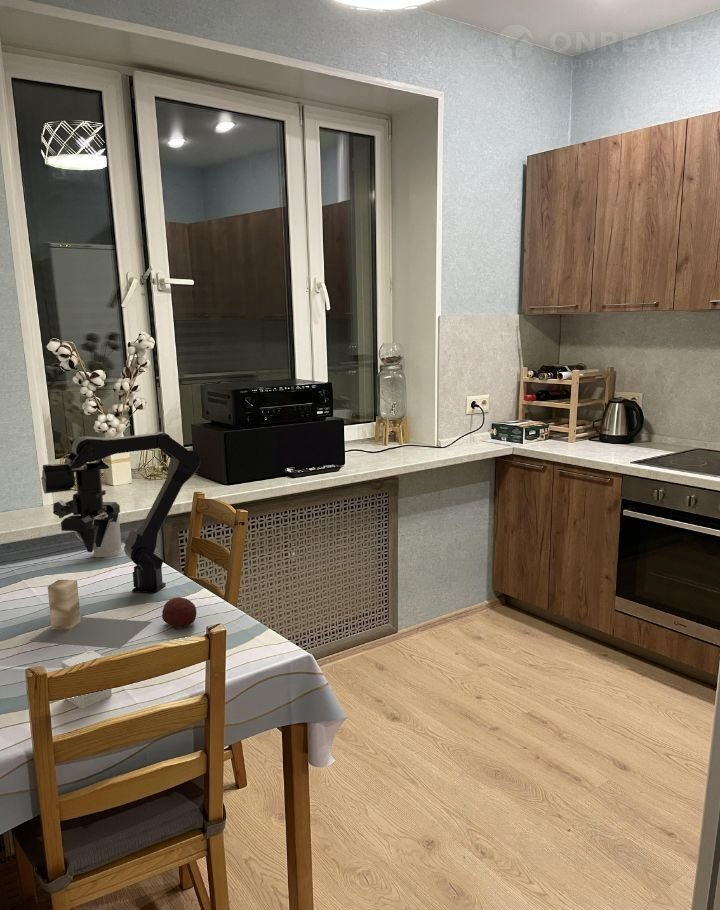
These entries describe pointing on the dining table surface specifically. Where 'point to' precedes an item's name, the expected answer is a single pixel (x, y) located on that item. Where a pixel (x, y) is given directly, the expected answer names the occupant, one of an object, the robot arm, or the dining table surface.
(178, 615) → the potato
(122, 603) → the dining table surface
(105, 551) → the glass holder
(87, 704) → the product box
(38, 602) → the dining table surface
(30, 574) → the dining table surface
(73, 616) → the birch block
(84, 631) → the charcoal rubber mat
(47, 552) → the dining table surface
